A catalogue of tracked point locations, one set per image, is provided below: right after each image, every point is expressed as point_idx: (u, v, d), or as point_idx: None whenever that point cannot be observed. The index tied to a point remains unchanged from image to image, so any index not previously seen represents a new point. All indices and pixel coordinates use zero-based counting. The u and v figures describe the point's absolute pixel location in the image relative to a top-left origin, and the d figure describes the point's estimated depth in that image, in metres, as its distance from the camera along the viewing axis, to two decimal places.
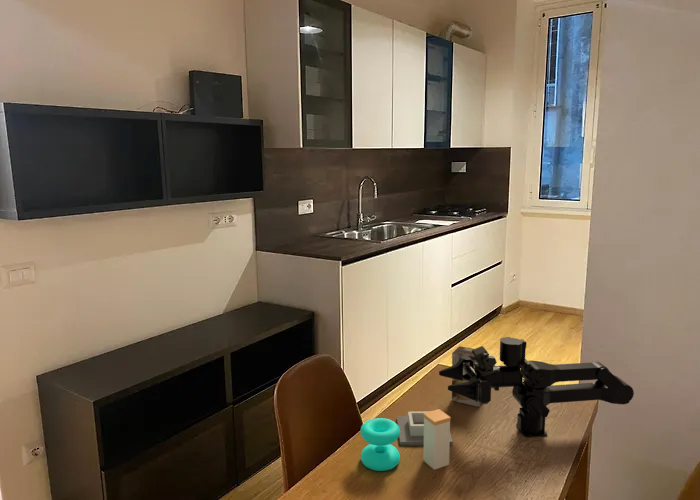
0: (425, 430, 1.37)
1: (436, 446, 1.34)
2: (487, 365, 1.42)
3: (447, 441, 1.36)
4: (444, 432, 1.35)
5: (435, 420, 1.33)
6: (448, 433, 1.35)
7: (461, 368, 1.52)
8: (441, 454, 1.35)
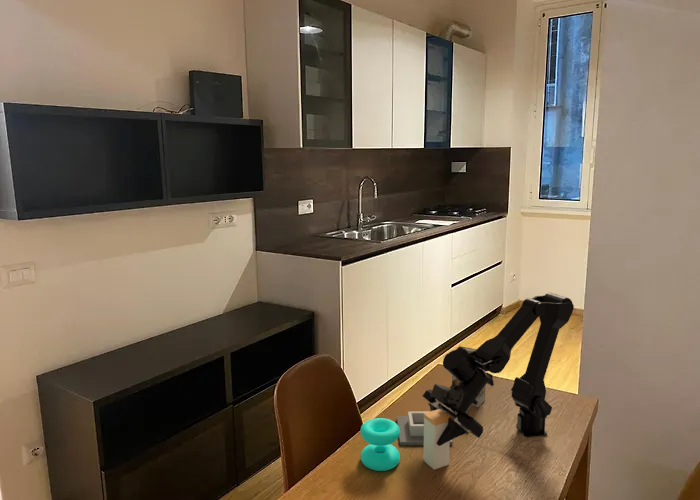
0: (425, 430, 1.37)
1: (436, 446, 1.34)
2: (455, 401, 1.32)
3: None
4: None
5: (435, 420, 1.33)
6: None
7: None
8: (441, 454, 1.35)
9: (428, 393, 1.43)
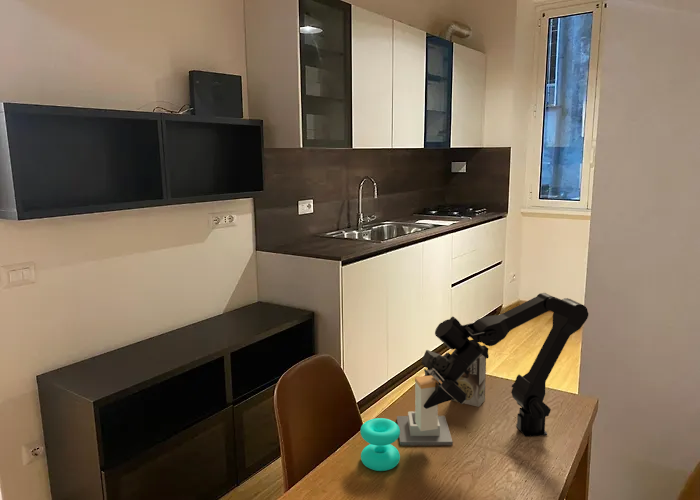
0: (416, 393, 1.44)
1: (423, 409, 1.41)
2: (441, 367, 1.37)
3: (435, 406, 1.41)
4: None
5: (422, 384, 1.40)
6: None
7: None
8: (428, 417, 1.42)
9: None
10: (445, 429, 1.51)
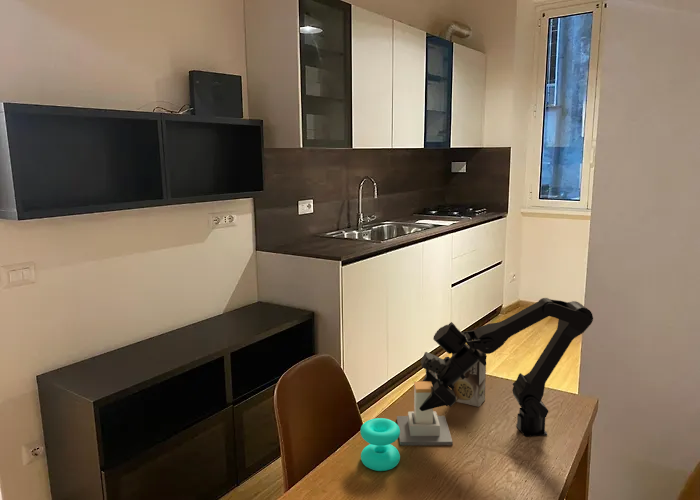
0: (414, 397, 1.52)
1: (418, 412, 1.49)
2: (434, 369, 1.45)
3: (430, 410, 1.49)
4: None
5: (417, 388, 1.48)
6: None
7: (431, 376, 1.55)
8: (423, 420, 1.50)
9: None
10: (445, 429, 1.51)
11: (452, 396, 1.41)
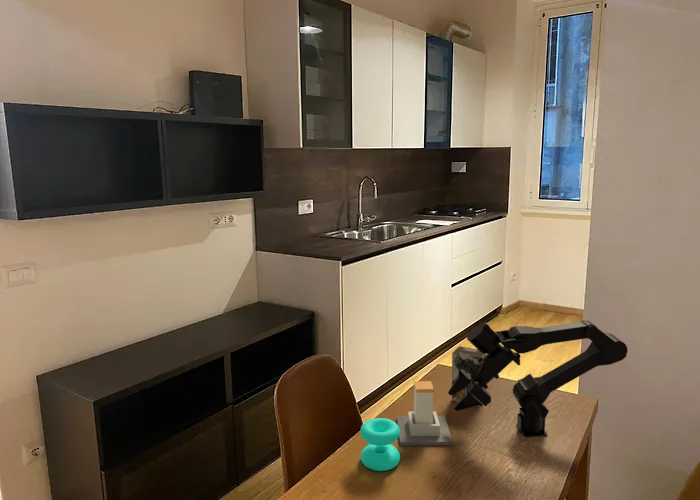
0: (414, 397, 1.52)
1: (418, 412, 1.49)
2: (468, 369, 1.44)
3: (430, 410, 1.49)
4: (427, 401, 1.48)
5: (417, 388, 1.48)
6: (431, 403, 1.49)
7: (463, 376, 1.55)
8: (423, 420, 1.50)
9: None
10: (445, 429, 1.51)
11: (487, 396, 1.40)
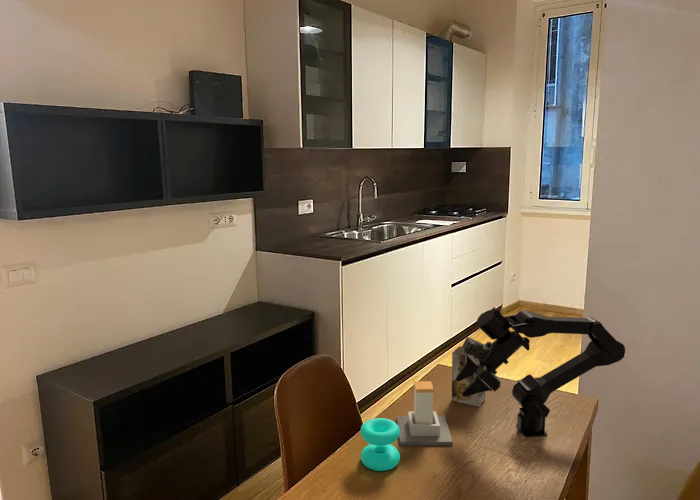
0: (414, 397, 1.52)
1: (418, 412, 1.49)
2: (477, 354, 1.43)
3: (430, 410, 1.49)
4: (427, 401, 1.48)
5: (417, 388, 1.48)
6: (431, 403, 1.49)
7: (471, 362, 1.53)
8: (423, 420, 1.50)
9: None
10: (445, 429, 1.51)
11: (497, 381, 1.39)
